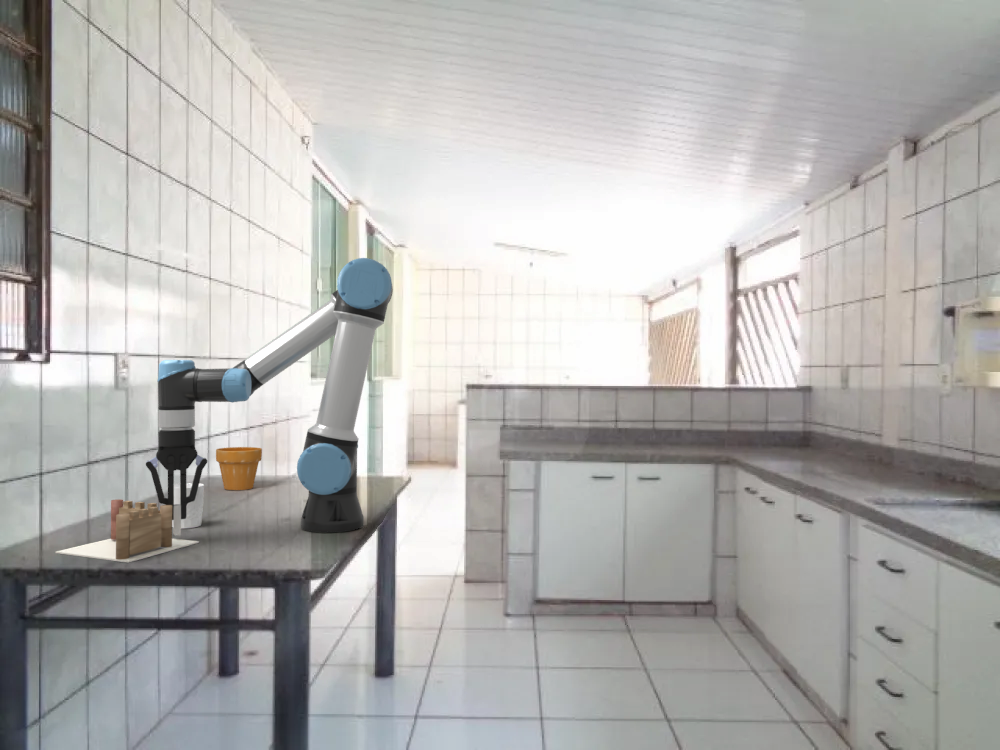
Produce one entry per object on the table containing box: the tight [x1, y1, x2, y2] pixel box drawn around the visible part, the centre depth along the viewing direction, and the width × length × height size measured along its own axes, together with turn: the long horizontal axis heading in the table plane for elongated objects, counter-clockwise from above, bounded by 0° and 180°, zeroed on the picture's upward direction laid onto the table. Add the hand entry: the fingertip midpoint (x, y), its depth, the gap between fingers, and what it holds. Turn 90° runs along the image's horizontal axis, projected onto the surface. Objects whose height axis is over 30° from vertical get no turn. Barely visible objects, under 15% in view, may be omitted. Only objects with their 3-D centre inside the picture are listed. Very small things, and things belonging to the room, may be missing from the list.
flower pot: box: [215, 446, 263, 491], centre depth 243 cm, size 14×14×13 cm
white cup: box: [172, 482, 205, 530], centre depth 182 cm, size 8×8×10 cm
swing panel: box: [110, 498, 160, 540], centre depth 163 cm, size 2×13×8 cm, turn 69°
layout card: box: [54, 537, 200, 563], centre depth 159 cm, size 20×19×1 cm
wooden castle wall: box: [116, 504, 173, 560], centre depth 154 cm, size 2×14×9 cm, turn 159°
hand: (177, 533), depth 166 cm, fingers closed
